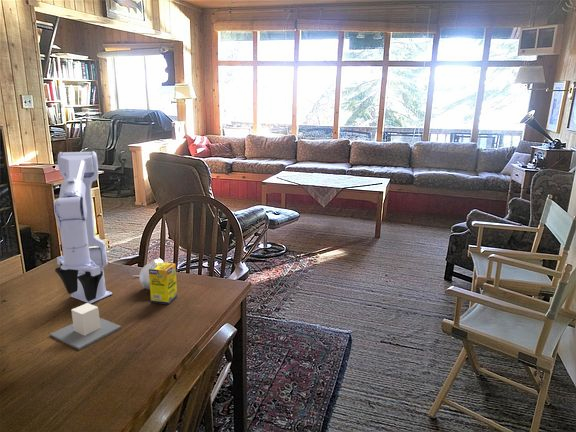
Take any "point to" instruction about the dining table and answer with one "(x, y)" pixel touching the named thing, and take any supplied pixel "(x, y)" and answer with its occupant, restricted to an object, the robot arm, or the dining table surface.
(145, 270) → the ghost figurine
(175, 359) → the dining table surface
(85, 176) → the robot arm
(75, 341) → the gray mat
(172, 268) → the supplement box
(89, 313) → the cream block
